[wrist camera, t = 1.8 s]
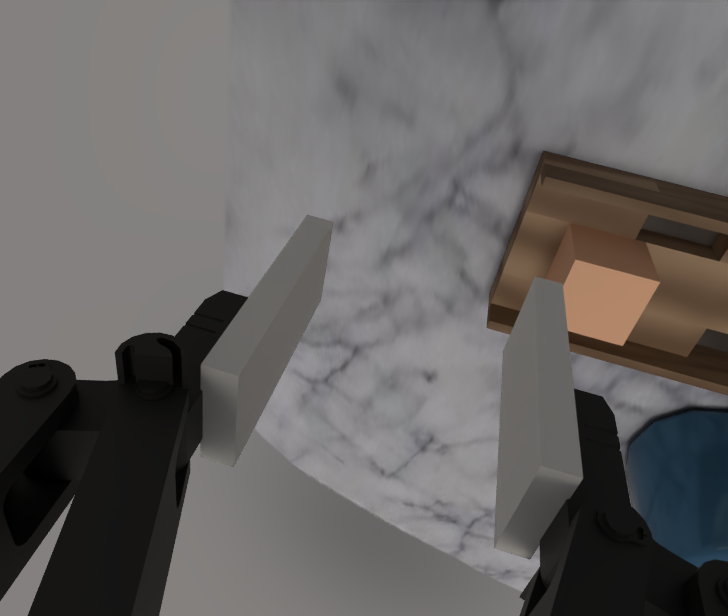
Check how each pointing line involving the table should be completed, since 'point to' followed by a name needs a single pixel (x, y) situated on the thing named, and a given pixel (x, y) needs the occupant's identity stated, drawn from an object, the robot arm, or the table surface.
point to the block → (603, 282)
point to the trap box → (668, 252)
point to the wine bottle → (683, 483)
